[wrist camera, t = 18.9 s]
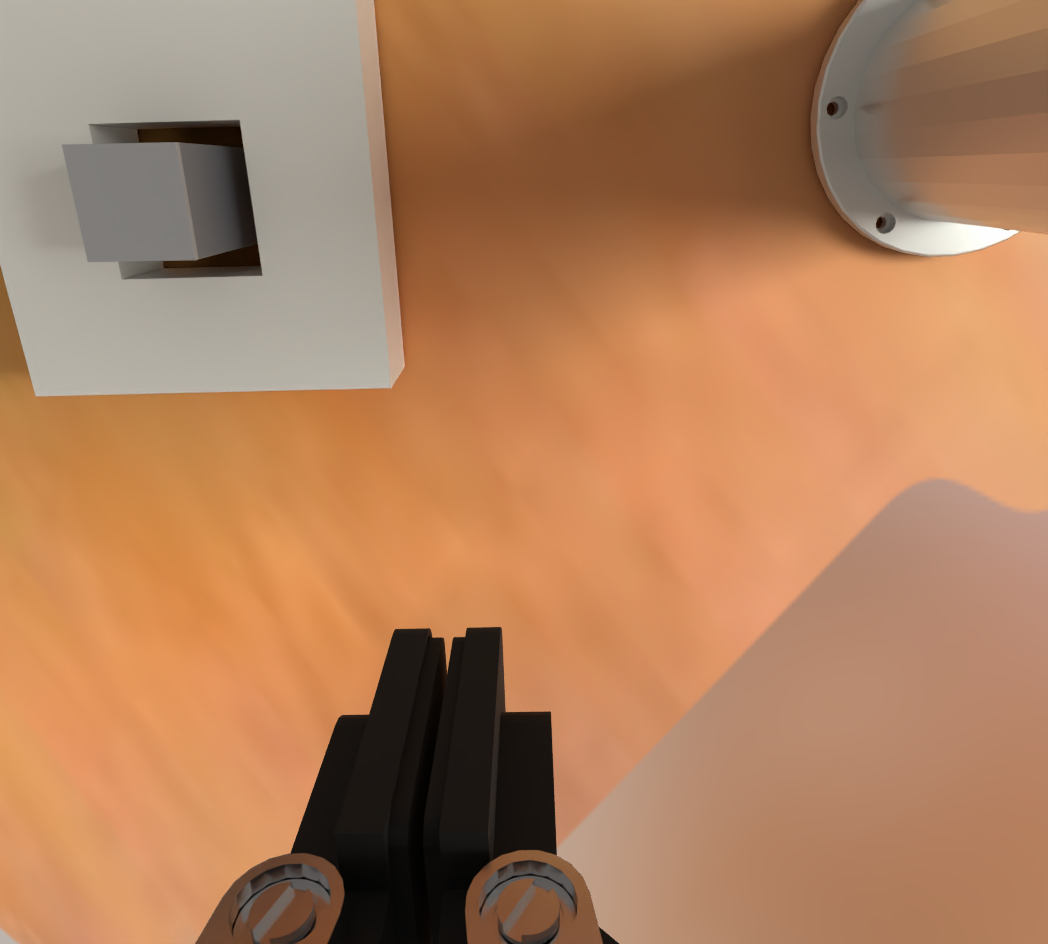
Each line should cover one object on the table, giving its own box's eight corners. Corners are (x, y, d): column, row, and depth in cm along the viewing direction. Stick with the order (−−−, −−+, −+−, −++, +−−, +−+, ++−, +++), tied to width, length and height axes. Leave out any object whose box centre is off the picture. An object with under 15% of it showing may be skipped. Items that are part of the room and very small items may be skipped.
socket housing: (372, -10, 32) (352, -34, 28) (404, 366, 38) (391, 388, 34) (-7, 2, 32) (-77, -21, 28) (84, 374, 38) (35, 396, 34)
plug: (252, 148, 34) (175, 142, 27) (265, 241, 36) (195, 260, 28) (163, 150, 34) (61, 144, 27) (180, 243, 36) (87, 262, 28)
